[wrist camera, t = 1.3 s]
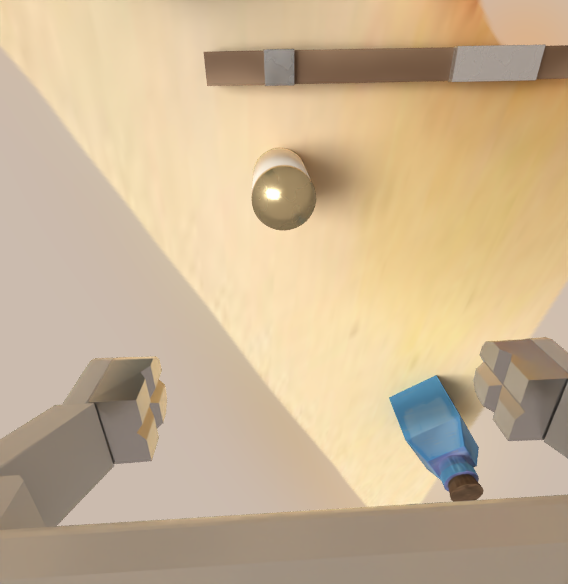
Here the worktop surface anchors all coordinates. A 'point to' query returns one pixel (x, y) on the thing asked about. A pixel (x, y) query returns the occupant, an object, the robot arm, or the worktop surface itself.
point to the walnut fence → (386, 65)
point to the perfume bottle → (439, 437)
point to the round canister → (282, 190)
